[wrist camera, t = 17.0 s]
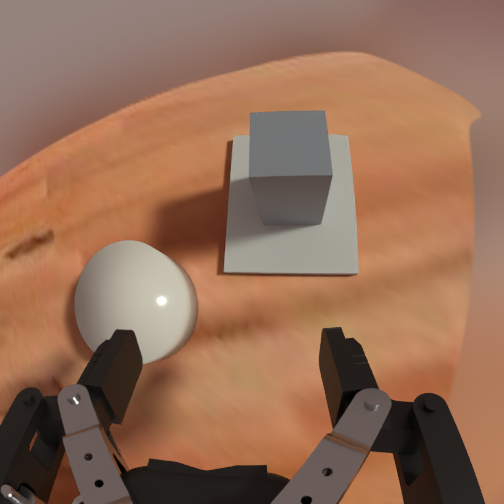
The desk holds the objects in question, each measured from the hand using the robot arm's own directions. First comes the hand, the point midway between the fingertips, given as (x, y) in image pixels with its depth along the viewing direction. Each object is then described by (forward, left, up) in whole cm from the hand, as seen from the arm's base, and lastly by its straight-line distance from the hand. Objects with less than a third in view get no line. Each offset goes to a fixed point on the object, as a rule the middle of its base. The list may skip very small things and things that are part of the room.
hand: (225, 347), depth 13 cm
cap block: (+3, +11, -10) cm, 15 cm away
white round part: (-9, +2, -10) cm, 14 cm away
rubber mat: (+3, +11, -10) cm, 15 cm away
